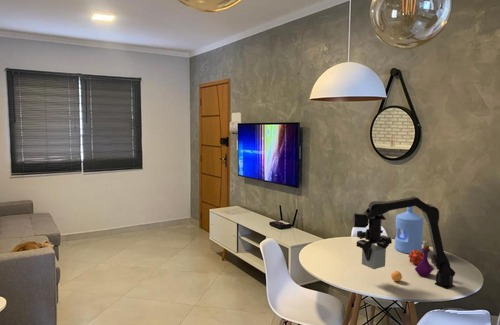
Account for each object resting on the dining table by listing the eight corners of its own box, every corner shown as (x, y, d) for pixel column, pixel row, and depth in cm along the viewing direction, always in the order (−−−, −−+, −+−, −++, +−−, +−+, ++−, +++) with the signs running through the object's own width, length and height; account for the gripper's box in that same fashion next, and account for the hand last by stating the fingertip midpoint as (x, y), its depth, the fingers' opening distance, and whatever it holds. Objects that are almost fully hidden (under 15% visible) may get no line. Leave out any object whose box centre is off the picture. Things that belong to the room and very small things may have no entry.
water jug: (416, 246, 240) (419, 203, 237) (425, 254, 224) (428, 208, 221) (391, 245, 241) (393, 202, 238) (398, 253, 226) (400, 207, 223)
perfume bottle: (418, 270, 200) (420, 237, 198) (433, 274, 195) (435, 240, 193) (414, 275, 194) (415, 241, 192) (429, 278, 190) (431, 244, 188)
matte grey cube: (385, 266, 183) (385, 248, 182) (374, 269, 180) (374, 251, 179) (372, 261, 190) (373, 244, 189) (361, 264, 186) (362, 246, 185)
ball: (403, 281, 186) (404, 271, 185) (397, 283, 183) (397, 274, 183) (395, 278, 190) (395, 268, 190) (388, 280, 188) (389, 270, 187)
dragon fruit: (412, 262, 216) (422, 273, 205) (401, 254, 215) (411, 265, 203) (423, 251, 215) (433, 262, 203) (412, 243, 213) (421, 253, 202)
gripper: (375, 221, 194) (373, 251, 196) (348, 226, 185) (347, 257, 187) (393, 226, 185) (391, 257, 187) (366, 232, 175) (364, 264, 177)
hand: (373, 259), depth 184 cm, fingers closed on matte grey cube, 8 cm apart
